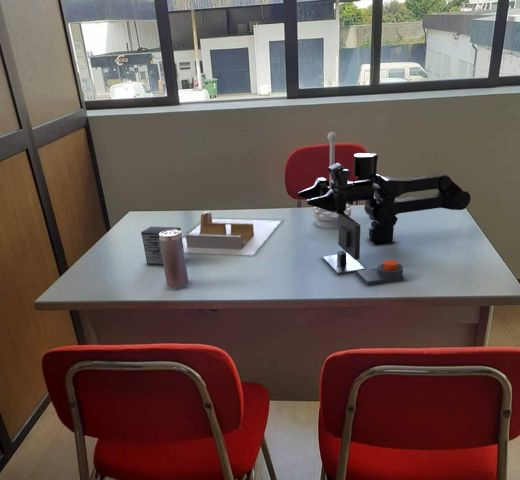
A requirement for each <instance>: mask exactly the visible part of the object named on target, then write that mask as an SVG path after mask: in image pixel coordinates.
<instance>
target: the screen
mask: <svg viewBox="0 0 520 480" xmlns="http://www.w3.org/2000/svg"><path fill="white" fill-rule="evenodd" d="M337 243H338V246H339V247H340V248H341V249H342V250H343V251H344V252H345V253H348V254H349V255H350V256H351V257H352V258H353V259H354V260H356V261H358V260H360V254H361V253H360V251H361V250H360V249H361V224H360V223H358V222H357V221H356V220H354V219H353V218H352V217H351V216H348V215H346V214H345V213H344V212H343V213H339V227H338V242H337Z"/></svg>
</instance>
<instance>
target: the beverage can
mask: <svg viewBox="0 0 520 480" xmlns="http://www.w3.org/2000/svg"><path fill="white" fill-rule="evenodd" d="M181 234H182V231H181V232H180V231H179V230H174V229H172V230H165V231H162V232H160V233H159V241H160V247H161V252H162V258H163V264H164V266H163V269H164V275H165V281H166V286H167V287H168V288H170V289H171V290H172V289H173V290H180V289H184V288H185V287H187V286H188V284H189V276H188V270H187V262H186V256H185V255H186V254H185V252H184V248H183V241H182V239H183V236H182V235H181Z"/></svg>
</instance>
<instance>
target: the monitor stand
mask: <svg viewBox="0 0 520 480" xmlns="http://www.w3.org/2000/svg"><path fill="white" fill-rule="evenodd" d="M322 260H323V261H324V262H325V263H326V265H328V267H329V268H330V269H331V270H332V271H333V272H334V273H335V274H336V275H337V276H341V275H350V274H355V273H357V271H359V270H366V268H365V267H364V266H363V265H362V264H361V263H360V262H359V261H358V260H354V259H353V258H352V257H351V256H350V255H349V254H348V253H347V252H346V251H345V250H338V251H337V252H336V254H333V255H326V256H322Z"/></svg>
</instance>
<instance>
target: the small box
mask: <svg viewBox="0 0 520 480" xmlns="http://www.w3.org/2000/svg"><path fill="white" fill-rule="evenodd" d="M172 229H174V230H179V231H180V232H181V235H182V229H181V227H178V226H177V227H173V226H150V227H148V228H146V229H144V230H142V231H141V232H140V234H141V238H142V244H143V249H144V255H145V261H146V265H147V266H154V267H164V264H163V258H162V252H161V247H160V241H159V233H160V232H162V231H165V230H172Z"/></svg>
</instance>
